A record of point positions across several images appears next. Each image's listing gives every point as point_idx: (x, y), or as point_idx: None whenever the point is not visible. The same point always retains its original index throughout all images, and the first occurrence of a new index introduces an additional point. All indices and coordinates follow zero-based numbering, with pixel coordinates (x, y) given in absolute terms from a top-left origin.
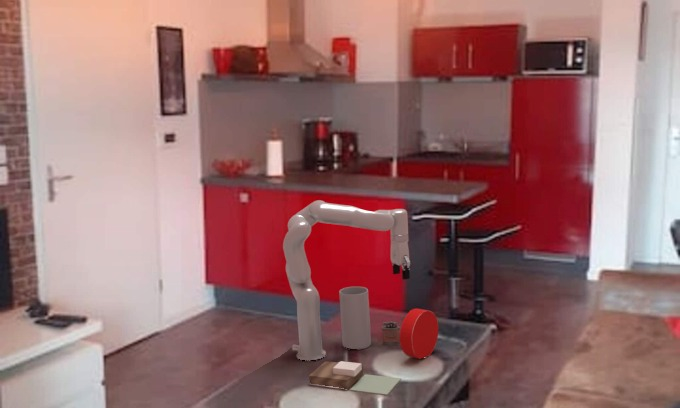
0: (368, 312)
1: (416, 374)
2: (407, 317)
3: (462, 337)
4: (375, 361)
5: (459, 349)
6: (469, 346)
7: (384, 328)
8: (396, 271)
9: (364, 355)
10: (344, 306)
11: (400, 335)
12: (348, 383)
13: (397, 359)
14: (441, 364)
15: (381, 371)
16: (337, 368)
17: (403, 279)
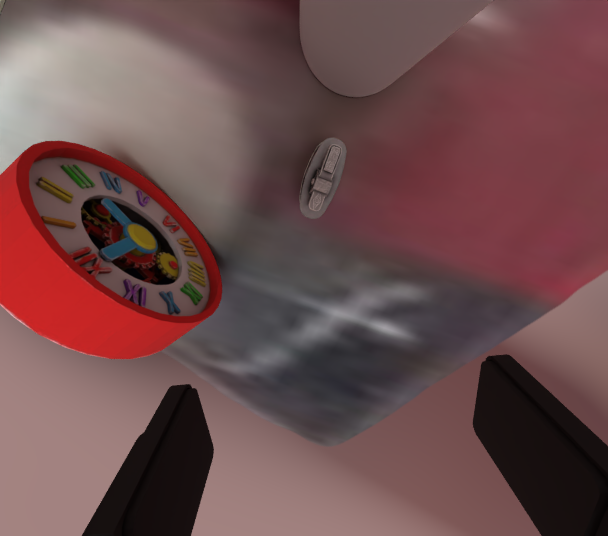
0: (344, 28)
1: None
2: (8, 205)
3: (278, 379)
4: (162, 53)
5: (193, 343)
6: (207, 371)
7: (320, 148)
8: (500, 417)
9: (237, 27)
10: None
11: (43, 143)
12: None
13: (161, 144)
14: None
15: (55, 42)
16: None
17: (175, 387)
